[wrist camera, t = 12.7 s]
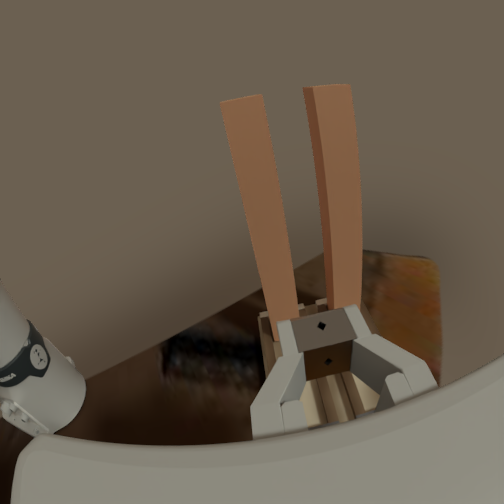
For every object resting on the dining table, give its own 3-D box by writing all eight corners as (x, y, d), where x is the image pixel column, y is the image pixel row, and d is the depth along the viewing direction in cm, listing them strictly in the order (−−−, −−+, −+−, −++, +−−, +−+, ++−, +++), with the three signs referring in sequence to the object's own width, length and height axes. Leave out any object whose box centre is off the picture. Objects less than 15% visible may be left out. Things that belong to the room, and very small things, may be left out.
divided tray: (277, 453, 28) (274, 447, 26) (258, 320, 47) (256, 311, 46) (414, 413, 27) (419, 406, 26) (357, 297, 47) (358, 287, 46)
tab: (274, 341, 41) (219, 103, 25) (271, 322, 45) (220, 102, 28) (301, 335, 41) (262, 94, 24) (296, 317, 44) (257, 94, 28)
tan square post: (334, 326, 41) (312, 87, 24) (327, 308, 44) (302, 87, 28) (359, 319, 41) (350, 84, 24) (350, 302, 44) (336, 84, 28)
